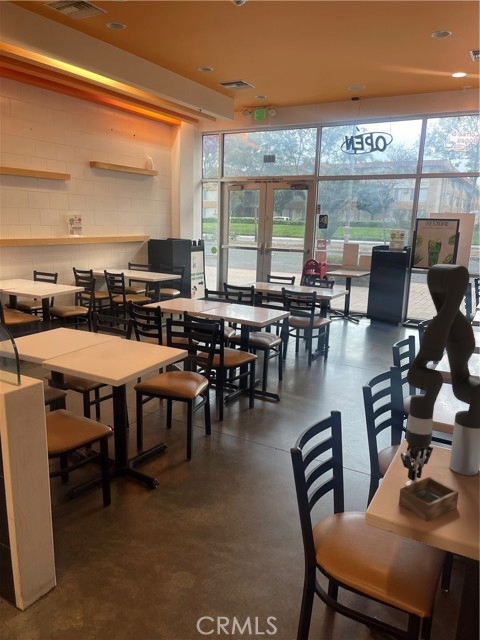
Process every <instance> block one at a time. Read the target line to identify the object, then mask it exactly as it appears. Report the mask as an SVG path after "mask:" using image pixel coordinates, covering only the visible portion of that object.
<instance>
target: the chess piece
mask: <svg viewBox="0 0 480 640" xmlns="http://www.w3.org/2000/svg"><path fill="white" fill-rule="evenodd" d="M418 467H419V464H417V466H416V476H415V480H414V481H412V480H408V481H406V483H405V487H406V486H409V485H411V484H413V483H416V482H418V480H417V479H418V478H417V473H418V472H419V471H418V470H417V469H418Z"/></svg>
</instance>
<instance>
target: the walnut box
mask: <svg viewBox="0 0 480 640" xmlns="http://www.w3.org/2000/svg"><path fill="white" fill-rule="evenodd" d="M425 498H426V499H428V500H430V501H431V502H429V503H428V502H427V501H425V500H423V499H425ZM458 499H459V491H458V490H456V489H453V488H452V487H450V486H448V485H447V484H444V483H442V482H440V481H438V480H437V479H435V478H433V477H432V476H427V477H426V478H424V479H420V480H417V482H416V483H413V484H411V485H409V486H406V485H405V486H404V487H402V488H400V489H399V498H398V504H399V505H400V506H401V507H403V508H405V509H407V510H408V511H410V512H411V513H413V514H414V515H416V516H417V517H419V518H421V519H422V520H424V521H426V522H429V521H432V520H434V519H436V518H437V517H439V516H441V515H444V514H446V513H448V512H450V511H452V510H453V509H456V508H457V507H458Z"/></svg>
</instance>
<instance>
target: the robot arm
mask: <svg viewBox="0 0 480 640" xmlns="http://www.w3.org/2000/svg"><path fill="white" fill-rule="evenodd" d="M470 279H471V278H470V271H469V270H468V268H467V267H466V266H465V265H462V264H446V263H445V264H444V263H437V264H434V265H431V266H430V267H429V269H428V271H427V273H426V284H427V289H428V292H429V295H430V298H431V300H432V303H433V306H434V307H435V311H436V315H435V316H434V317H433V318H432V319H431V320H430V321H429V323H428V324H427V325H426V327H425V329H424V331H423V333H422V336H421V337H422V338H421V342H420V345H419V349H418V352H417V354H416V356H415V358H414V359H413V362H412V363H411V365H410V366H409V368H408V370H407V373H406V381H407V384H408V386H410V387H412V388H415V389H418V390H421V391H425V392H424V393H425V394H415V395H413V396H411V397H410V403H409V409H408V410H409V413H408V416H407V422H406V434H405V441H406V442H407V448H406V451H405V453H403V452H401V453H400V459H401V462H402V465H403V467H404V468H405V469H408V471H407V478H408V479H409V481H411V480H412V481H414V480H415V476H416V466H417V464H419V467H418V469H417V470H418V471H419V472H418V473H417V479H421V478H422V473H423V468H424V466H425V465H427V464H428V463H429V459H430V457H431V456H432V452H433V450H434V447H432V446H431V444H432V437H433V427H434V411H435V409H434V408H435V404H436V401H437V399H438V396H439V394H440V392H441V390H442V387H443V385H444V377H443V374H442V373H441V372H440V371H439V370H437V369H433V368H429V367H426V366H427V365H428V363H430V362H435V363H436V362H440V361H442V359H443V357H444V353H445V351H446V355H447V361H448V366H449V371H450V382H451V389H452V393H453V396H454V398H456V400H458V401H460V402H461V403H462V402H463V403H464V404H466V405H469V406H468V410H460V411H457V412H456V413H455V416H454V422H453V432H452V439H451V440H452V441H451V448H450V449H451V450H450V455H449V456H450V458H449V464H448V465H449V466H448V467H449V468H450V469H451V470H452V471H453V472H455V473H457V474H459V475H462V476H469V477H470V476H476V475H478V474H479V470H480V378H477V377H474V376H472V375H471V373H470V369H469V361H470V359H471V357H472V355H473V354H474V352H475V349H476V343H477V342H476V338H475V333H474V329H473V326H472V324H471V322H470V321H469V319H468V318H467V317H466V315H465V314H464V313H463V312H462V311H461V309H460V307H461V305H462V303H463V300H464V297H465V295H466V293H467V290H468V287H469V284H470Z"/></svg>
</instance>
